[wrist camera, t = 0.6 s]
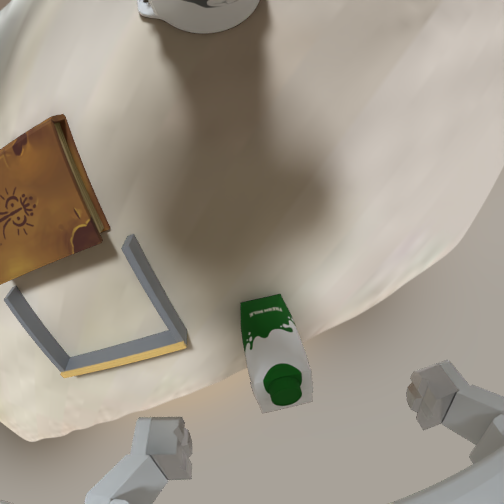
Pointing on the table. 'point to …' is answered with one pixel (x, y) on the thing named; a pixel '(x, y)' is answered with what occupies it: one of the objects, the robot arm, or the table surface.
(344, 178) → the table surface
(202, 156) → the table surface
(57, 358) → the bay
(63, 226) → the diary
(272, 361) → the milk carton
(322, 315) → the table surface
